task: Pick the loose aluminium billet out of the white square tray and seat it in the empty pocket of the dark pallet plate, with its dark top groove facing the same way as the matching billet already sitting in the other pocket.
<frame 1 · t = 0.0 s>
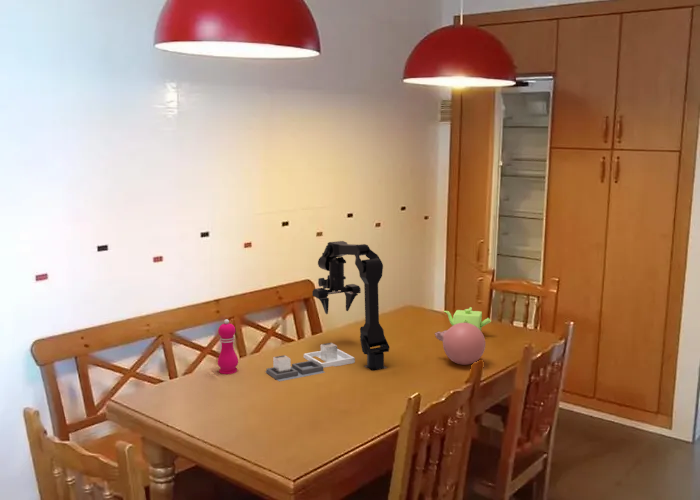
hand: (336, 312, 290), 15 cm above the table, tool pointing down, fingers open, 9 cm apart
pepper mill: (228, 374, 263), on the table
kettle: (466, 335, 310), on the table
pallet plate: (295, 374, 262), on the table
white square tray: (329, 362, 275), on the table
billet loose: (329, 360, 275), point 1 cm above the table, touching white square tray
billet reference: (282, 374, 259), point 1 cm above the table, touching pallet plate
balloon: (458, 363, 274), on the table
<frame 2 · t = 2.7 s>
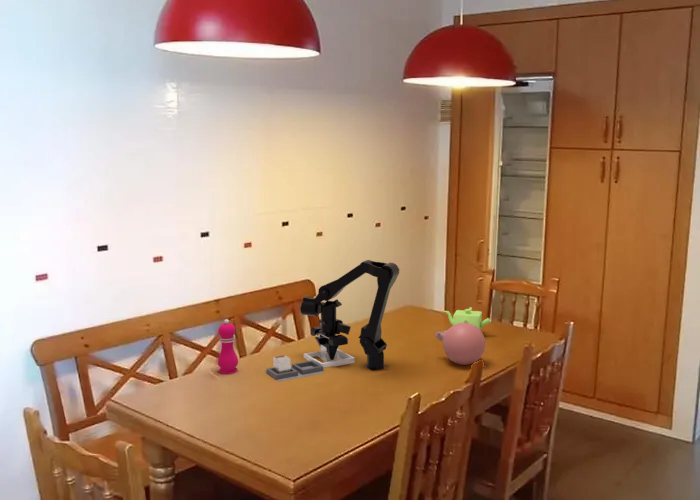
hand: (329, 358, 275), 2 cm above the table, tool pointing down, fingers closed on billet loose, 4 cm apart
billet loose: (329, 360, 275), point 1 cm above the table, touching gripper, white square tray
everything else where it was.
when the fingers open (3 cm above the table, at t = 7.0 s): billet loose drops 1 cm, resting on pallet plate.
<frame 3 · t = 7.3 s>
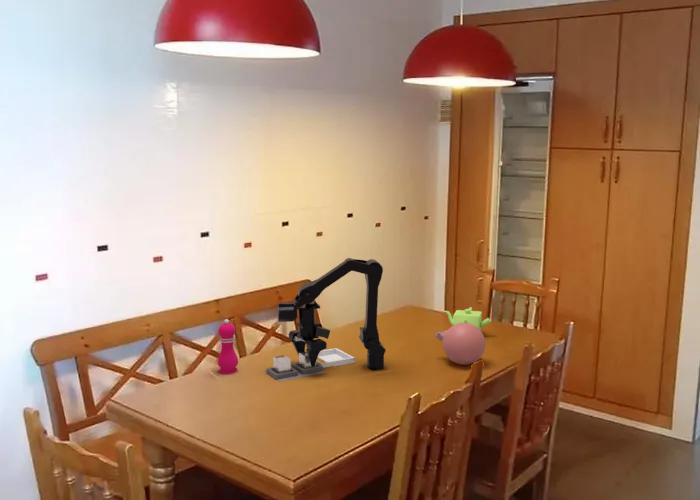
hand: (307, 363, 264), 3 cm above the table, tool pointing down, fingers open, 8 cm apart
billet loose: (307, 369, 264), point 1 cm above the table, touching pallet plate
everything else where it was.
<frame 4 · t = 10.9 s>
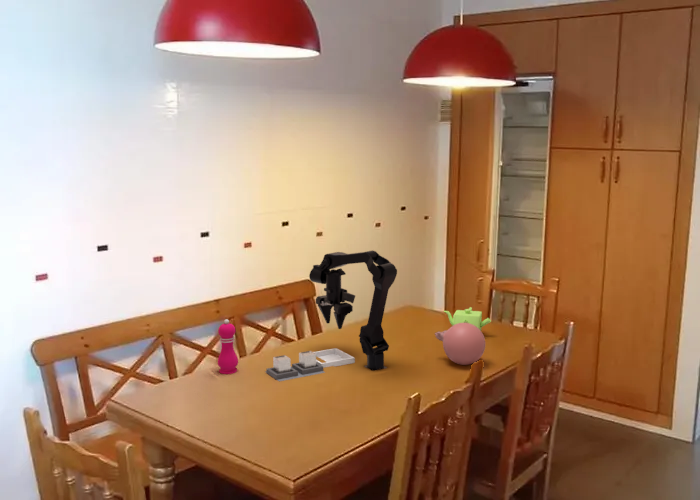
hand: (334, 326, 280), 12 cm above the table, tool pointing down, fingers open, 9 cm apart
nothing on the table moved.
at the end: billet loose 0.1 cm from the target spot on the pallet plate, point 1.0 cm above the pallet plate's base; billet loose tilted 0°; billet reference moved 0.0 cm from its start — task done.
